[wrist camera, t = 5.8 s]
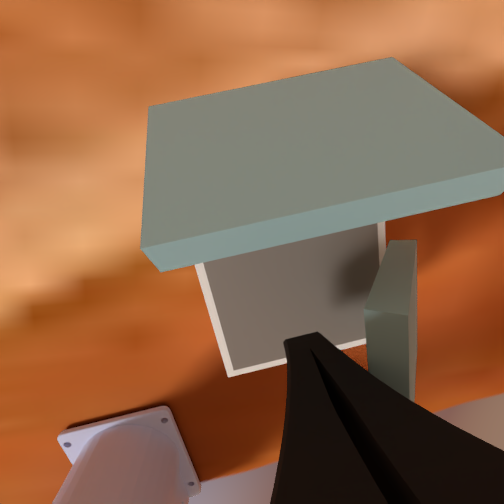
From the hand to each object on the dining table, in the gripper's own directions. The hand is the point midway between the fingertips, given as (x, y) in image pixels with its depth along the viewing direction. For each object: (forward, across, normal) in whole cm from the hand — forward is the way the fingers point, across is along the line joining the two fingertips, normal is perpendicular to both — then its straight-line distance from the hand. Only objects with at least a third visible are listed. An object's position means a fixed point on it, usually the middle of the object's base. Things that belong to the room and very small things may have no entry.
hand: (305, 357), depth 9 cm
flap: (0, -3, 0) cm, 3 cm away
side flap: (0, -1, -7) cm, 7 cm away
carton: (+7, -1, -3) cm, 8 cm away
